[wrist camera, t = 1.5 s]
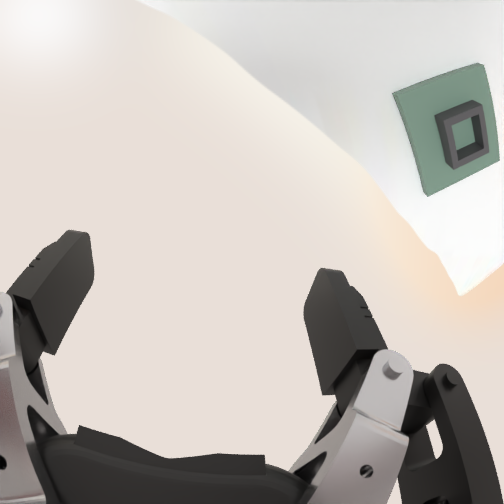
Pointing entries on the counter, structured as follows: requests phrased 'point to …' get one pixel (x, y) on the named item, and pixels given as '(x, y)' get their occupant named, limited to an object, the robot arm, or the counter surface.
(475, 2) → the counter surface
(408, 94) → the board
